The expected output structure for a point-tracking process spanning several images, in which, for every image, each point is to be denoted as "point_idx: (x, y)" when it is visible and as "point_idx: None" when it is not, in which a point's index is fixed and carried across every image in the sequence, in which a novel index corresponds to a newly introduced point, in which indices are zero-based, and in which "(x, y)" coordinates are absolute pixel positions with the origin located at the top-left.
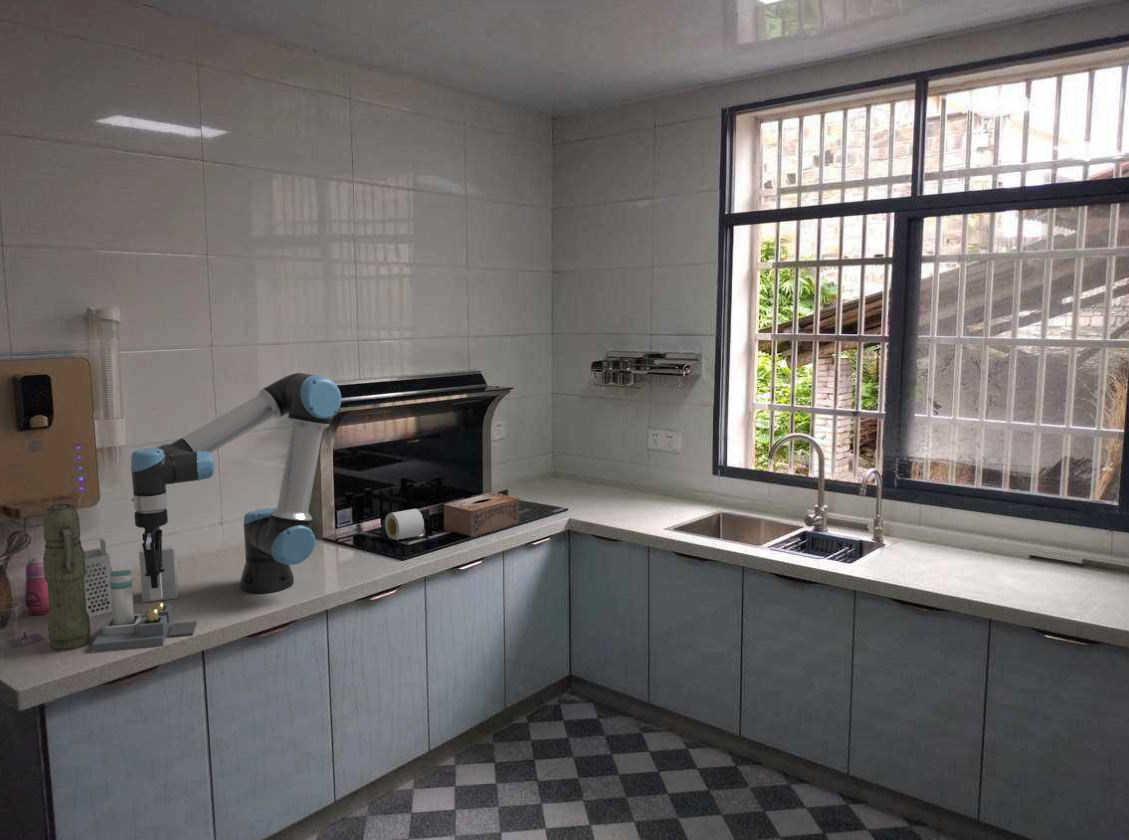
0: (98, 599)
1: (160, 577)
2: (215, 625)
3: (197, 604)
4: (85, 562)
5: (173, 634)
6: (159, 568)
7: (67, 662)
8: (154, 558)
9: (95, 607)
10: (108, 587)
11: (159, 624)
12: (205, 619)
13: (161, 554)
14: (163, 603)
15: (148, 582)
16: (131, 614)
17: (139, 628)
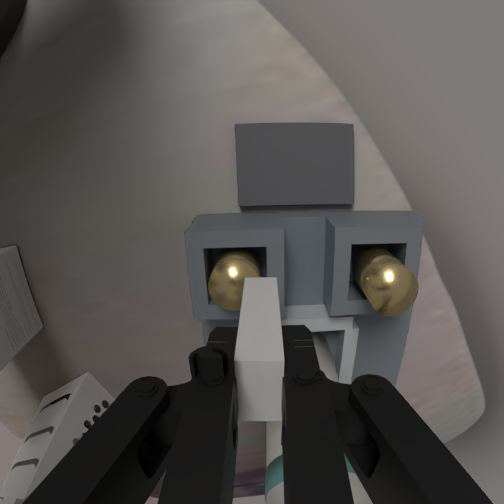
0: None
1: (273, 345)
2: (270, 58)
3: (54, 168)
4: None
5: (352, 188)
6: (232, 396)
7: (419, 401)
8: (480, 498)
9: None
10: (75, 434)
11: (419, 239)
12: (197, 102)
13: (94, 458)
14: (239, 263)
15: (5, 340)
16: (320, 358)
17: None
